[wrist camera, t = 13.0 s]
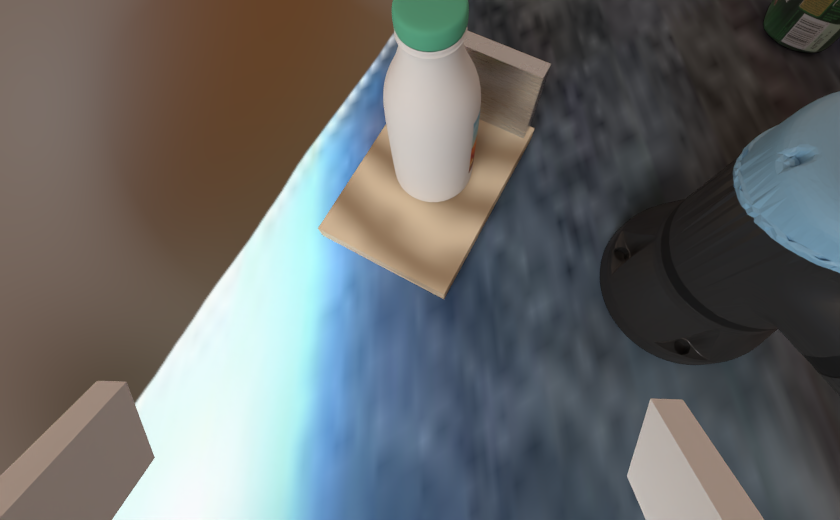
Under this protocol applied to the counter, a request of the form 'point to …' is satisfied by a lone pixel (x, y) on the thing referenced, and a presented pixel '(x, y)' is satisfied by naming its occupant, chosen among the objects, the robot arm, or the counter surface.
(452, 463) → the counter surface
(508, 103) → the bookend
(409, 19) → the milk bottle
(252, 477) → the counter surface
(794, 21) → the coffee jar
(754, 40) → the counter surface
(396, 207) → the shelf board
